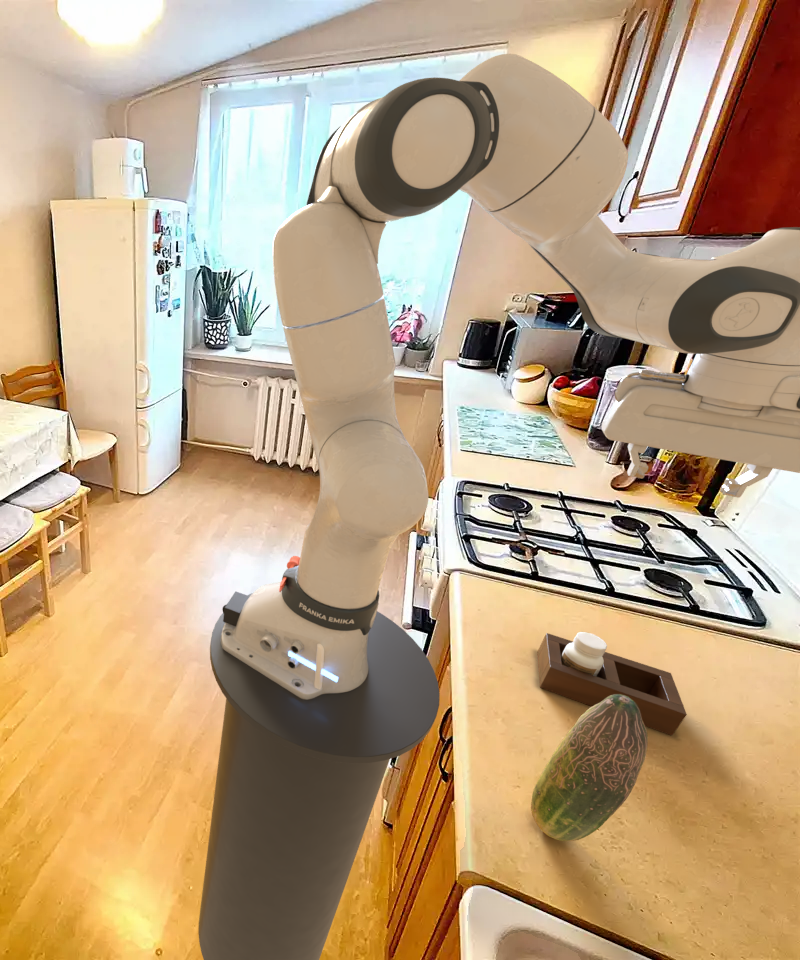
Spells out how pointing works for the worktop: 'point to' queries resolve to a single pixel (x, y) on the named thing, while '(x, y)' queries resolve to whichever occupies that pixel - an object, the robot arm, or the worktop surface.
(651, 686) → the holder
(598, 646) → the pill bottle
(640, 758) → the vegetable
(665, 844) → the worktop surface
